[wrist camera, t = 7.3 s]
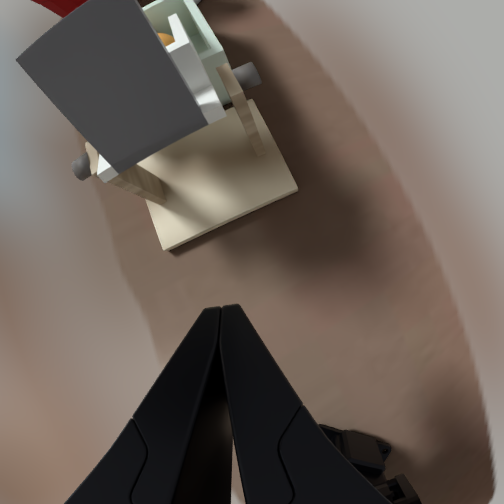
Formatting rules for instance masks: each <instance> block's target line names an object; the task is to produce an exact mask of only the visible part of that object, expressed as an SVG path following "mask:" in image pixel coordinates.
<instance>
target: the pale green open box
mask: <svg viewBox="0 0 504 504" xmlns="http://www.w3.org/2000/svg"><path fill="white" fill-rule="evenodd" d="M142 9H143V11H144V12H145V14H146V16H147V17H148V19H149V20H150V22H151V24H152V25H153V27H154V29H155V30H156V32H157V33H165V34H168V35H170V36H172V37H174V36H173V33H172V29H171V26H170V23H169V20H168V17H169V16H171V15H173V14H175V13H176V14H177V16H178V18H179V19H180V21H181V23H182V25H183V27H184V28H185V30H186V32H187V34H188V36H189V38H190V39H191V41H192V43H193V45H194V47H195V49H196V52H197V54H198V56H199V58H200V60H201V62H202V64H203V66H204V68H205V70H206V72H207V74H208V77H209V79H210V81H211V83H212V85H213V87H214V89H215V91H216V94H217V96H218V98H219V100H220V102H221V104H222V106H224V105H226V104H228V103H230V102H232V101H231V99H230V97H229V95H228V93H227V91H226V89H225V86H224V84H223V82H222V80H221V78H220V76H219V74H218V72H217V70H216V67H219V66H221V65H223V64H225V63H228V65H229V67H230V69H231V66H230V64H229V62H228V59H227V57H226V54H225V52H224V50H223V48H222V46H221V45H220V43H219V41H218V40H217V38H216V36H215V35H214V33H213V31H212V30H211V28H210V26H209V25H208V23H207V22H206V20H205V18H204V17H203V15H202V14H201V12H200V10H199V9H198V7H197V6H196V4H195V3H194V1H193V0H156V1H154V2H152V3H150V4H148V5H146V6H145V7H143V8H142ZM231 70H232V69H231Z"/></svg>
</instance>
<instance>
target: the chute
mask: <svg viewBox="0 0 504 504" xmlns="http://www.w3.org/2000/svg"><path fill="white" fill-rule="evenodd" d="M168 20H169V23H170V26H171V29H172V33H173V36H174V39H175V42H174V43H172V44H170V45H168V46H166V47H165V45H164V44H163V42H162V40H161V39H160V37H159V35H158V34H157V32H156V30H155V29H154V27H153V25H152V24H151V22H150V20H149V19H148V17H147V16H146V14H145V12H144V11H143V9H142V7H141V6H140V4H139V3H138V1H137V0H88V1H87V2H85V3H84V4H82V5H81V6H79V7H78V8H77V9H75V10H74V11H72V12H71V13H70V14H68V15H67V16H66V17H64V18H63V19H62V20H60V21H59V22H58V23H57V24H56V25H54V26H53V27H52V28H50V29H49V30H48V31H47V32H45V33H44V34H43V35H42V36H41V37H40V38H39V39H37V40H36V41H35V42H34V43H33V44H32V45H31V46H29V47H28V48H27V49H26V50H25V51H24V52H23V53H22V54H21V55H20V56H19V57H18V58H17V59H16V61H17V62H18V63H19V64H20V66H21V67H22V68H23V69H24V70H25V72H27V74H28V75H29V76H30V77H31V78H32V80H33V81H34V82H35V83H36V84H37V85H38V87H39V88H40V89H41V90H42V91H43V92H44V93H45V94H46V96H47V97H48V98H49V99H50V100H51V101H52V102H53V104H54V105H55V106H56V107H57V108H58V109H59V110H60V111H61V112H62V113H63V115H64V116H65V117H66V118H67V119H68V120H69V121H70V122H71V123H72V125H73V126H74V127H75V128H76V129H77V130H78V131H79V132H80V133H81V134H82V135H83V137H84V138H85V139H86V140H87V141H88V142H89V143H90V144H91V145H92V146H93V147H94V148H95V149H96V151H97V152H98V153H99V161H98V170H97V176H98V177H99V178H100V179H101V180H102V181H103V182H104V183H106V182H108V181H109V180H111V179H112V178H114V177H116V176H117V175H119V174H120V173H122V172H124V171H125V170H127V169H129V168H130V167H132V166H134V165H135V164H137V163H139V162H140V161H142V160H144V159H146V158H147V157H149V156H151V155H152V154H154V153H156V152H158V151H160V150H161V149H163V148H165V147H167V146H169V145H170V144H172V143H174V142H176V141H178V140H180V139H182V138H184V137H185V136H187V135H189V134H191V133H193V132H195V131H197V130H199V129H201V128H203V127H205V126H207V125H209V124H211V123H213V122H215V121H217V120H220V119H222V118H224V117H226V116H227V115H226V113H225V111H224V109H223V106H222V104H221V102H220V100H219V98H218V96H217V94H216V91H215V89H214V87H213V85H212V83H211V81H210V79H209V77H208V74H207V72H206V70H205V68H204V66H203V64H202V62H201V60H200V58H199V56H198V54H197V52H196V49H195V47H194V45H193V43H192V41H191V39H190V38H189V36H188V34H187V32H186V30H185V28H184V27H183V25H182V23H181V21H180V19H179V18H178V16H177V14H176V13H175V14H173V15H171V16H169V17H168Z"/></svg>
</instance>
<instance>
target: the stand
mask: <svg viewBox="0 0 504 504" xmlns="http://www.w3.org/2000/svg"><path fill="white" fill-rule="evenodd" d="M216 70H217V72H218V74H219V76H220V78H221V80H222V82H223V84H224V86H225V89H226V91H227V93H228V95H229V97H230V99H231V101H232V103H233V105H234V107H232V108H230V109H228V110H225V113H226V115H227V116H226V117H224V118H222V119H220V120H217V121H215V122H213V123H211V124H209V125H207V126H205V127H203V128H201V129H199V130H197V131H195V132H193V133H191V134H189V135H187V136H185V137H184V138H182V139H180V140H178V141H176V142H174V143H172V144H170V145H169V146H167V147H165V148H163V149H161V150H160V151H158V152H156V153H154V154H152V155H151V156H149V157H147V158H146V159H144V160H142V161H140V162H139V163H137V164H135V165H134V166H132V167H130V168H129V169H127V170H125V171H124V172H122V173H120V174H119V175H117V176H116V177H114V178H112V179H111V180H109V181H108V182H109V183H111V184H113V185H115V186H118V187H120V188H122V189H125V190H127V191H129V192H131V193H134V194H136V195H138V196H140V197H143V198H145V199H146V202H147V205H148V208H149V211H150V214H151V217H152V220H153V223H154V226H155V229H156V231H157V234H158V237H159V240H160V243H161V246H162V248H163V251H169V250H172V249H174V248H176V247H178V246H180V245H182V244H184V243H186V242H188V241H190V240H192V239H194V238H197V237H199V236H201V235H203V234H205V233H207V232H209V231H211V230H213V229H216V228H218V227H220V226H222V225H224V224H226V223H228V222H231V221H233V220H235V219H237V218H239V217H241V216H244V215H246V214H248V213H250V212H252V211H255V210H257V209H259V208H261V207H263V206H266V205H268V204H270V203H272V202H274V201H277V200H279V199H281V198H283V197H286V196H288V195H290V194H293V193H295V192H297V191H298V187H297V185H296V183H295V181H294V179H293V177H292V175H291V173H290V170H289V168H288V166H287V164H286V162H285V160H284V158H283V156H282V154H281V152H280V150H279V149H278V147H277V145H276V143H275V141H274V139H273V137H272V135H271V133H270V131H269V129H268V127H267V125H266V123H265V122H264V120H263V118H262V116H261V114H260V112H259V110H258V108H257V107H256V105H255V103H254V101H253V99H250V100H246V98H245V95H244V92H243V91H245V90H247V89H250V88H252V87H254V86H257V85H259V84H261V83H262V82H261V79H260V76H259V74H258V72H257V70H256V68H255V66H254V65H253V63H252V62H249V63H247V64H244V65H242V66H240V67H237V68H235V69H233V70H231V69H230V67H229V65H228V63H225V64H223V65H221V66H219V67H216ZM85 145H86V151H87V152H86V153H84V154H83V155H82V156H80V157H79V158H78V159H76V160H75V161H74V162H73V163H72V170H73V172H74V174H75V176H76V177H77V178H78V179H80V180H82V181H83V180H85V179H86V178H88V177H89V176H91V175H93V176H95V177H97V178H99V177H98V176H97V170H98V161H99V153H98V152H97V151H96V149H95V148H94V147H93V146H92V145H91V144H90V143H89V142H87V143H85Z"/></svg>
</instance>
